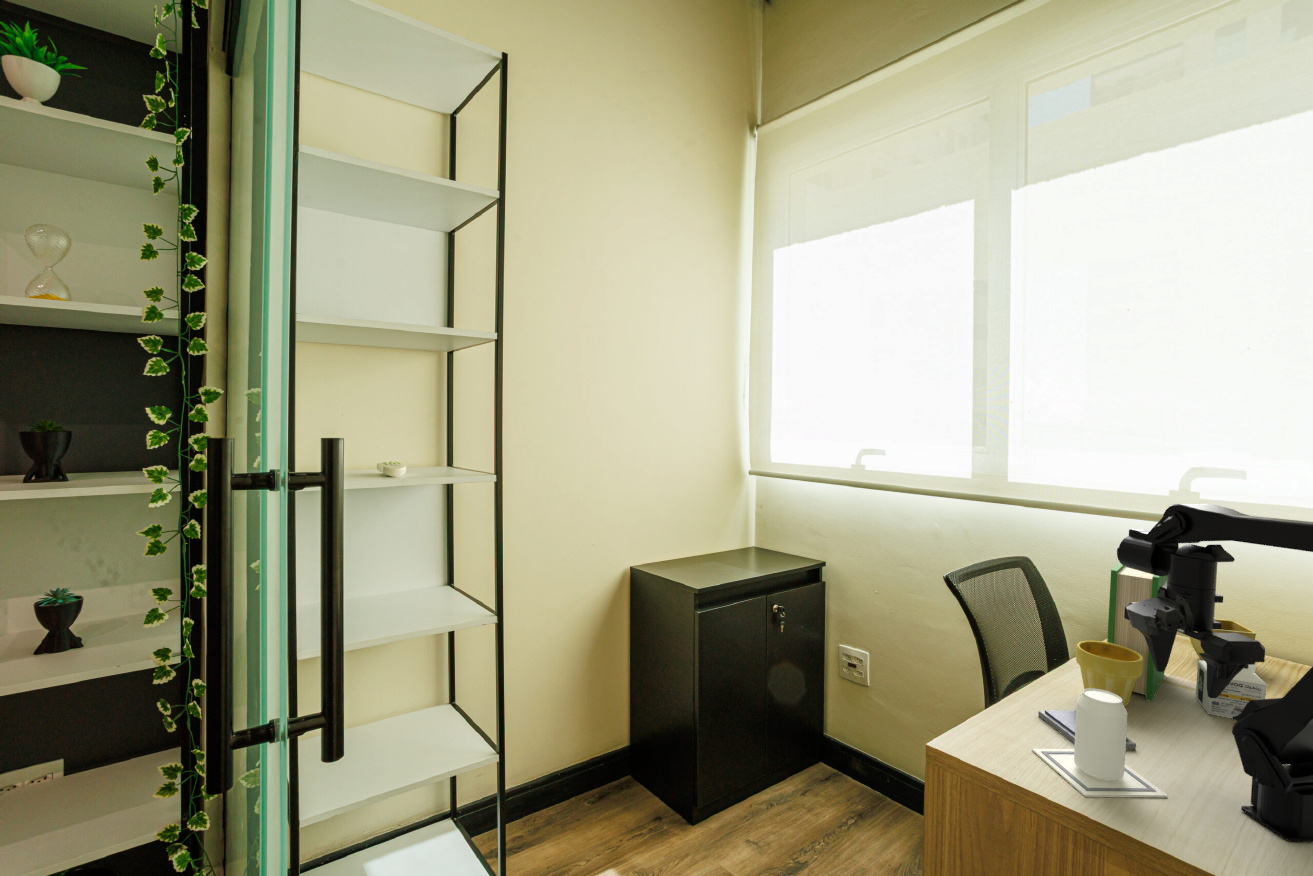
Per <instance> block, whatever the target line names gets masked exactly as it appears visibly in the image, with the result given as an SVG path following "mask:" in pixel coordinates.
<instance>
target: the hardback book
mask: <svg viewBox="0 0 1313 876" xmlns="http://www.w3.org/2000/svg"><path fill="white" fill-rule="evenodd" d="M1109 584H1110V585H1109V603H1108V604H1109V605H1108V624H1107V638H1106V639H1107V640H1106V642H1108V643H1113V644H1117V645H1120V646H1124V647H1127V648H1129V649H1132V650H1134V651H1136V652H1138V653H1139V654H1141V655H1142V657H1143V670H1142V675H1141V676H1140V677H1138V678H1137V679H1136V682H1135V685H1134V688H1133V690H1132V693H1137V694H1141V695H1144V696H1145V700H1146V701H1149V700H1150V702H1153V700H1154V698H1155V696H1154V695H1156V693H1157V691H1158V689H1159V687H1160V685H1161V682H1162V680H1163V678H1164V677H1165V671H1164V672H1158V671H1157V670H1156V668H1155V665H1154V662H1153V659H1152V656H1151V653H1150V650H1149V647H1148V645H1147V642H1146V640H1145V637H1144V635H1143V634H1142V633H1141V632H1140V631H1138V630H1137V629H1136V628H1133V627H1132V625H1131V624H1130V620H1127V619H1125V618H1124V613H1125V607H1126V606H1127V605H1128V604H1129V603H1130V602H1140V601H1143V600H1146V599H1153V598H1156V597H1157V590H1158V589H1159V587H1167V575H1166V576H1156V575H1153V574H1149V573H1146V572H1142V571H1138V570H1135V569H1131V568H1128V567H1125V566H1123V565H1122V564H1121V563H1120V562H1118V563H1117V564H1116V565H1115V566H1114V567H1112V568H1111V570H1110V583H1109Z"/></svg>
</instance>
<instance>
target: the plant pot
mask: <svg viewBox="0 0 1313 876" xmlns="http://www.w3.org/2000/svg"><path fill="white" fill-rule="evenodd" d="M1075 661H1076V663H1077V664H1078V666H1079V668H1080V673H1081V679H1082V684H1083V690H1084V689H1087V688H1094V689H1101V690H1105V691H1108V692H1111V693H1114V694H1116V695H1118V696H1119V697H1121V698H1122V703H1123V705H1124V707H1125V708H1126V707H1127V706H1128V704H1129V701H1130V698H1131V696H1132V693H1133V691H1132V690H1133V688H1134V685H1135V682H1136V679H1137V678H1138V677H1140V676H1141V675H1142V670H1143V657H1142V655H1141V654H1139V653H1138V652H1136V651H1134V650H1132V649H1129V648H1127V647H1124V646H1120V645H1117V644H1113V643H1108V642H1107V641H1101V640H1081V641H1079V642H1078V643H1077V644H1076V648H1075Z"/></svg>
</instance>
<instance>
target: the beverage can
mask: <svg viewBox="0 0 1313 876" xmlns="http://www.w3.org/2000/svg"><path fill="white" fill-rule="evenodd" d="M1075 708H1076V709H1075V711H1076V725H1075V744H1074V745H1073V746H1074V747H1073V749H1074V763H1075V765H1076V766H1077V767H1078V768H1079V769H1081V770H1082V771H1083V772H1084V773H1085V774H1086V775H1088V776H1090V777H1092V778H1094V779H1097V780H1101V781H1107V782H1111V781H1115V780H1120V779H1122V778H1123V776H1124V768H1125V764H1126V737H1127V732H1128V731H1127V730H1128V711H1127V709H1126V707H1124V705H1123V703H1122V698H1121V697H1119V696H1118V695H1116V694H1114V693H1111V692H1108V691H1105V690H1101V689H1094V688H1087V689H1084V688H1083V690H1082V694H1080V696H1079V697H1078V698H1077V699H1076V707H1075Z"/></svg>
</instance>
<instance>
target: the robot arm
mask: <svg viewBox="0 0 1313 876" xmlns="http://www.w3.org/2000/svg"><path fill="white" fill-rule="evenodd" d="M1201 542H1239V543H1245V544H1252V545H1259V546H1265V547H1266V546H1268V547H1275V548H1281V549H1289V550H1296V551H1303V552H1309V553H1313V521H1307V520H1306V521H1305V520H1296V519H1287V518H1277V517H1276V518H1275V517H1269V516H1268V517H1267V516H1266V517H1265V516H1259V515H1258V516H1256V515H1251V514H1250V515H1249V514H1245V513H1242V512H1239V511H1237V510H1235V509H1233V508H1230V507H1226V506H1221V505H1217V504H1214V503H1213V504H1212V503H1174V504H1171V505H1169V506H1168V507H1167V508H1166V509H1165V511H1164V512H1163V515H1162V517H1161V518H1160V520H1159V521H1157V523H1156V524H1154V526H1153V527H1152V528H1151V529H1150V531H1148V530H1146V529H1143V528H1130V529H1129V530H1128V536H1125V537H1124V538H1123V539H1122V540H1121V542H1120V543H1119V546H1118V547H1117V549H1116V556H1117V557H1116V558H1117V560H1118V563H1121V564H1122V565H1123V566H1125V567H1128V568H1131V569H1135V570H1138V571H1142V572H1146V573H1149V574H1153V575H1156V576H1166V575H1167V587H1159V589H1158V590H1157V597H1156V598H1153V599H1146V600H1143V601H1140V602H1130V603H1129V604H1128V605H1127V606H1126V607H1125V613H1124V618H1125V619H1127V620H1130V624H1131V625H1132V627H1133V628H1136V629H1137V630H1138V631H1140V632H1141V633H1142V634H1143V635H1144V637H1145V640H1146V642H1147V645H1148V647H1149V650H1150V653H1151V656H1152V659H1153V662H1154V665H1155V668H1156V670H1157V671H1158V672H1164V673H1165V671H1166V669H1167V667H1168V664H1169V660H1170V657H1171V654H1172V650H1173V646H1174V644H1175V640H1176V637H1177V634H1178V633H1181V634H1183V635H1185V636H1188V637H1189V638H1190V637H1192V638H1195V639H1197V640H1199V641H1201V644H1200V646H1201V648H1202V649H1203V651H1204V652H1205V653H1199V655H1200V656H1201V657H1202V658H1203V659H1204V661H1205V662H1206V663H1207V694H1208V697H1209V698H1217V697H1218V696H1219V695H1220V694H1221V693H1222V691H1223V690H1224V689H1225V688H1226V686H1227V685H1228V684H1229V683H1230V682H1231V680H1232V679H1233V678H1234V677H1235V676H1236V675H1237V674H1238V673H1239V672H1240V671H1241V670H1242V669H1243V668H1244V667H1245V666H1246V665H1254V664H1255V662H1256V663H1265V660H1266V659H1265V658H1266V647H1265V646H1264V645H1263V644H1262V643H1261V641H1259V640H1256V639H1255V640H1254V639H1251V638H1249V637H1246V636H1243V635H1241V634H1238V633H1214V632H1212V630H1213V629H1219V630H1221V625H1222V623H1220V622H1218V621H1215V620H1214V619H1215V610H1216V604H1217V603H1220V604H1221V603H1224V595H1221V594H1218V593H1217V592H1216V589H1217V578H1218V577H1217V573H1218V563H1233V562H1235V558H1234V556H1233V555H1231V554H1230V553H1229V552H1228V551H1226V550H1225V548H1224V547H1223V546H1222V544H1207V545H1206V546H1201V545H1197V544H1199V543H1201ZM1180 544H1185V545H1182V546H1179V545H1180ZM1194 631H1195V632H1194ZM1196 632H1197V633H1196ZM1232 718H1233V719H1232V720H1234V721H1236V722H1235V723H1233V726H1232V727H1231V734H1232V736H1233V738H1234V741H1235V744H1236V747H1237V752H1238V754H1239V758H1240V761H1241V765H1242V768H1243V772H1244V773H1245V774H1246V775H1248V776H1249V777H1251V789H1250V791H1251V793H1250V805H1242V806H1241V808H1240V809H1241V811H1242V812H1243V813H1245V814H1246V815H1248V816H1249V817H1251V818H1252V819H1254V820H1255V821H1257V822H1258V823H1259V824H1262V825H1263V826H1264V827H1266V828H1267V829H1269V830H1270V831H1272V832H1274V833H1275V834H1276V835H1278V836H1279V837H1281V838H1282V839H1284V840H1286V841H1288V842H1301V843H1303V842H1308V843H1310V842H1313V666H1311V668H1309V670H1307V672H1305V673H1304V675H1302V677H1301V678H1299V680H1298V681H1297V682H1296V683H1295V684H1294V685H1293V686H1292V687H1291V688H1290V690H1288V691H1287V692H1286V693H1285V694H1284V696H1283V697H1276V698H1274V697H1273V698H1265V699H1258V700H1250V701H1249V702H1248V703H1247V704H1246V706H1245V708H1244V709H1243V711H1242V713H1240V714H1239V715H1237V716H1234V717H1232Z"/></svg>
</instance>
